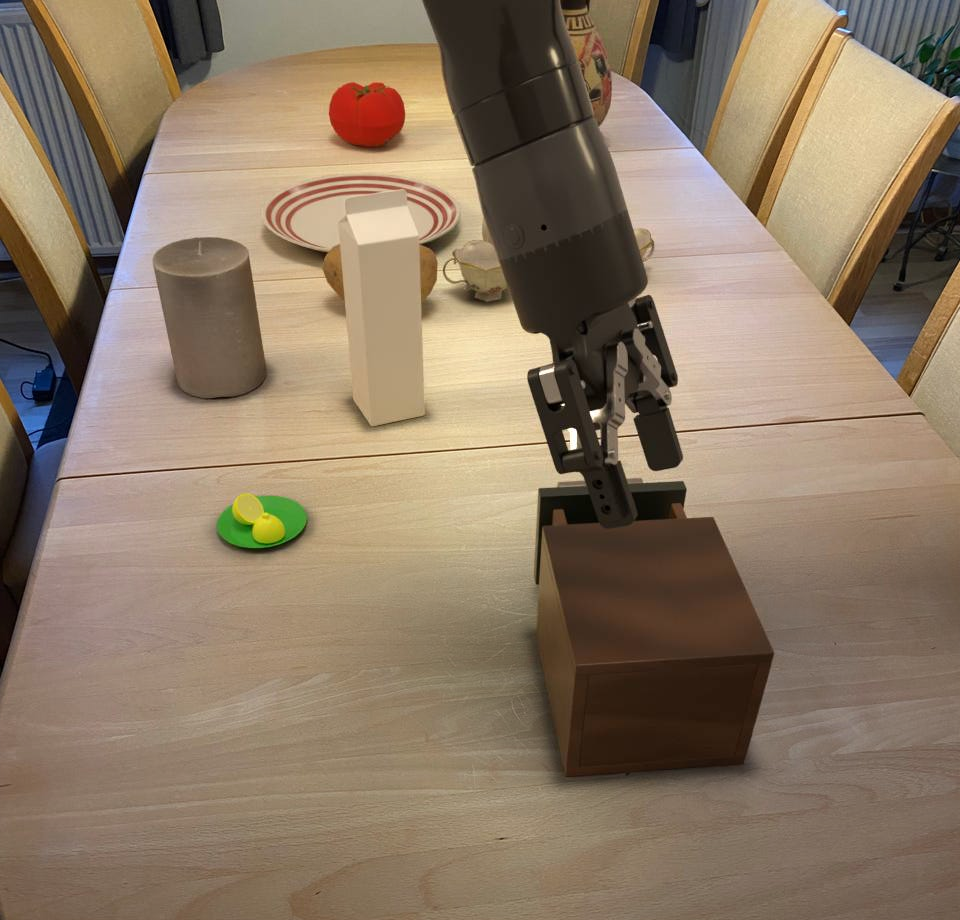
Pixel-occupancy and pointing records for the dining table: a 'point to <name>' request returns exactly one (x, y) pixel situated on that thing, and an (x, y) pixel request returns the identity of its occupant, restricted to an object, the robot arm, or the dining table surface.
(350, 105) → the tomato
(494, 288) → the chinaware
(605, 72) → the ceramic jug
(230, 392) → the pillar candle
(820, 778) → the dining table surface
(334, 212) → the dinner plate
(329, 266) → the potato
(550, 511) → the drawer
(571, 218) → the robot arm
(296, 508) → the lemon halves on plate
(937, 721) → the dining table surface
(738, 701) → the cabinet
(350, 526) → the dining table surface
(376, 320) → the milk
